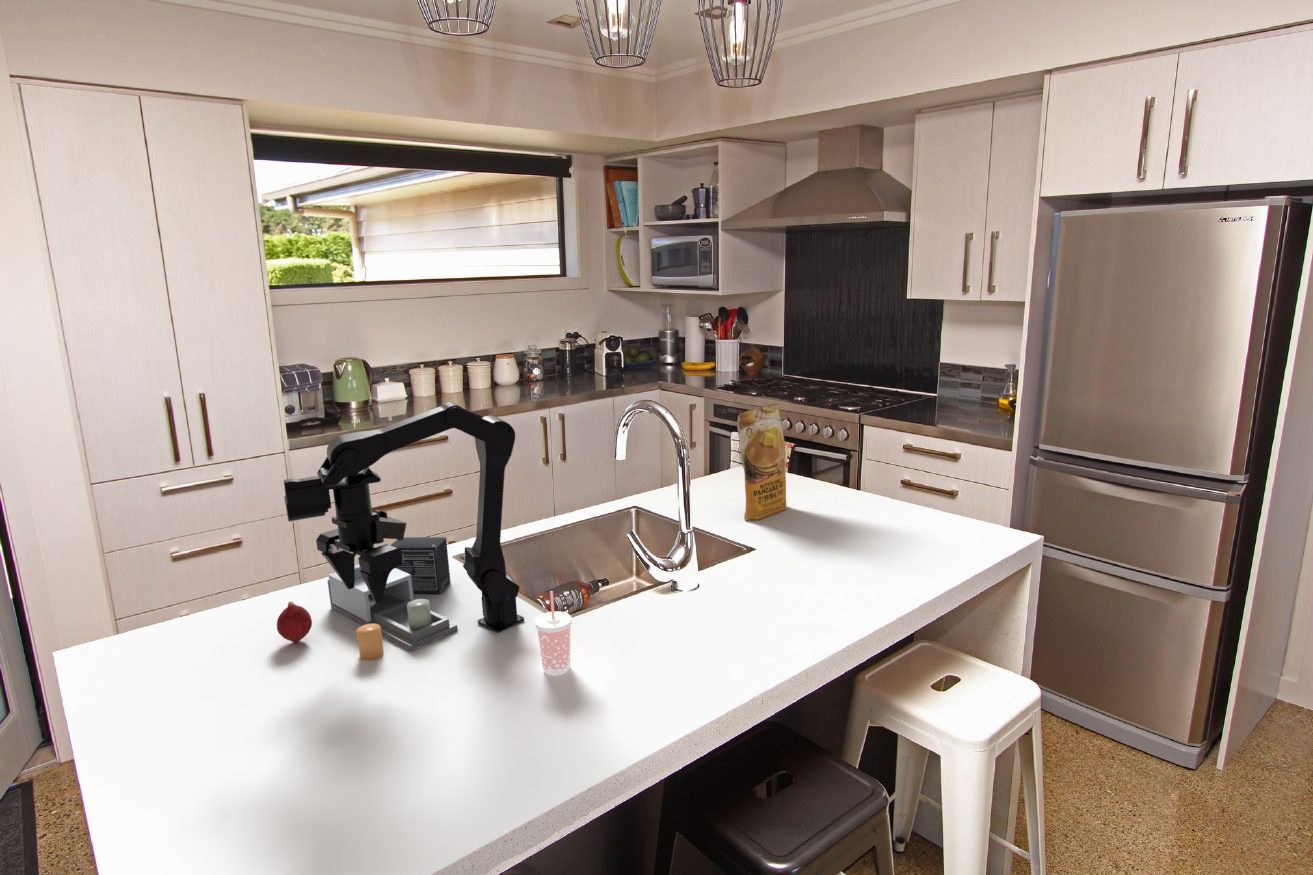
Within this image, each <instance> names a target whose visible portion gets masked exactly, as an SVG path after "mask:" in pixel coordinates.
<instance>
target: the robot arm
mask: <svg viewBox="0 0 1313 875" xmlns="http://www.w3.org/2000/svg"><path fill="white" fill-rule="evenodd" d="M451 429H455V430H458V431H460V432H462V433H464V434H467V435H469V436H471V437H473V438H474V443H475V449H476V453H477V457H478V462H479V479H478V480H479V485H478V498H477V499H478V500H477V517H476V518H477V520H476V536H475V540H474V542H473V544H472V547H468V546H465V547H464V555H465V556H464V562H463V565H462V567H463V569H464V570H465V571H466V573H467V576H468V577H469V579H470V580H471V581H472V582H473V584H474V585H475V587H477V589H478V590H480V592H481V607H482V615H483V617H481V618H479V619H477V624H479V625H481V626H483V627H485V628H487V629H489V630H492V631H494V632H498V633H499V632H502V631H504V630H506V629H509V628H510V627H513V626H514V625H517V624H519V623H521V622H523V621H524V620H525V617H524V616H522V615H520V614H518V611H517V610H518V608H517V597H518V595H519V591H520V585H519V584H518V583H517V582H516V581H515V580H514V579H513V577H512V576H510V574H508V572H507V568H506V561H505V557H504V553H503V549H502V546H501V544H502V543H501V535H502V534H501V533H502V520H503V519H502V518H503V506H504V505H503V504H504V503H503V502H504V487H505V486H504V484H505V472H506V471H505V470H506V468H507V465H508V463H509V461H510V459H511V456H512V453H513V450H514V445H515V441H516V432H515V429H514V428H513V426H512V425H511V424H510V423H508V422H507V421H505V420H503V419H502V418H500V417H498V416H496V415H485V416H482V415H480V414H477V413H475V412H473V411H470V410H469V409H466V408H463V407H462V406H460V405H458V403H455V402H452V401H450V402H445V403H443V404H441V405H440V406H438V407H436V408H433V409H430V410H428V411H424V412H421V413H418V414H416V415H414V416H411V417H408V418H405V419H403V420H400V421H396V422H395V423H392V424H389V425H386V426H384V427H381V428H377V429H373V430H363V431H362V430H361V431H355V432H351V433H350V432H349V433H346V434H345V433H344V434H341V435H337V436H335V437H333V438H332V439H331V440H330V442H329V443H328V445H327V447H326V458H325V459H324V461H323V462H322V464H321V466H320V467H319V469H318V471H316V472H317V473H316V474H317V475H316V476H315V475H314V476H309V477H303V478H287V479H284V480H283V486H284V496H283V499H284V505H285V512H286V515H287V521H288V522H289V523H291V522H294V521H300V520H307V519H312V518H318V517H322V516H323V517H324V516H326V513H328V512H329V510H330V509H331V508H332V502H331V501H332V500H331V495H330V490H332V494H333V501H334V509H335V516H332V517H331V522H332V524H334V525H337V528H334V529H332V530H329V531H325V532H322V533H320V534H319V535H318V537H317V538H316V540H315V541H316V549H317V550H318V551H320V552H321V555H322V556H323V557H324V558H325V560H326V561H327V562H328V564H329V565H330V566H331V568H332V569H333V570H334V573H335V572H336V573H337V574H338V576H339V577H340V579H341V580H342V581H343V583H344V584H345V586H346V587H347V589H352V588H354V585H355V557H356V555H358V556H359V557H358V564H359V565H360V567H361V569H362V570H360V573H361V575H362V577H363V579H364V581H365V583H366V585H367V587H368V589H369V591H370V593H371V595H372V597H373V599H374V601H375V603H379V602H382V600H383V596H384V592H385V587H386V583H387V579H388V576H389V574H390V572H391V571H392V570H393V569H394V568H397V567H398V566H399V565H401V564H403V563H404V557H403V551H401V550H399V549H398V548H396V547H393V546H391V544H388V543H385V544H383V543H384V542H385V539H387V540H391V539H392V540H403V539H404V537H405V532H406V528H407V524H408V523H407V522H406V521H403V520H401V519H397V518H393V517H388V513H387V511H384V510H379V509H374V510H373V508H372V506H373V505H372V500H371V492H370V491H371V490H370V484H375V483H380V482H381V480H382V479H381V477H380V476H379V474H378V473H377V472H374V470H372V469H371V468H370V467H371V466H373V465H374V464H376V463H377V462H378V461H380V460H381V459H382V458H383V457H384V456H386V455H388V454H390V453H391V452H394V451H396V450H399V449H402V448H404V447H407V446H410V445H411V444H415V443H418V442H420V441H422V440H425V439H428V438H430V437H432V436H436V435H438V434H440V433H444V432H445V431H449V430H451ZM380 544H382V545H380ZM375 545H379V546H376V547H375Z"/></svg>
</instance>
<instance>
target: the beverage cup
mask: <svg viewBox="0 0 1313 875" xmlns="http://www.w3.org/2000/svg"><path fill="white" fill-rule="evenodd" d="M549 595H550V609H551V611H547V612H545V613H541V614H540V615H538V616H537V617H536V618H535V619H534V624H535V629H537V636H538V643H539V650H540V657H541V666H542V671H543V673H544V674H545V675H547V676H561V675H564V674H566V673H567V672H569V671H570V669H571V625H572V624H573V622H572V620H573V618H572V615H570V614H569V613H568V612H564V611H555V604H554V603H555V602H554V601H555V600H554V591H553V590H550V591H549Z"/></svg>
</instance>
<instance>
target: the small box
mask: <svg viewBox="0 0 1313 875" xmlns="http://www.w3.org/2000/svg"><path fill="white" fill-rule="evenodd" d="M390 545H391V546H393V547H396V548H398V549H399V550H401V551H403V557H404V563H403V564H401V565H399V566H398V567H397V568H396V569H399V570H401V571H403V572H406V573H408V574H410V575H411V580H412V589H413V595H415V594H417V595H420V594H423V595H426V594H427V595H429V594H430V595H440V594H442V593H443V592H444V591H445V589H446V588H447V587H448V586H449V585H450V584H451V583H452V582H451V573H450V565H449V562H450V561H449V554H448V553H449V552H448V544H447V537H444V536H443V537H441V536H438V537H437V536H435V537H434V536H433V537H428V536H427V537H425V536H424V537H423V536H422V537H421V536H416V537H414V536H412V537H411V536H409V537H407V536H404V539H403V540H397V539H395V540H394V542H392V543H391V544H390Z"/></svg>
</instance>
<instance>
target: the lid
mask: <svg viewBox="0 0 1313 875" xmlns="http://www.w3.org/2000/svg"><path fill="white" fill-rule="evenodd" d="M354 565H355V564H354ZM360 570H362V569H361V567H360V565H359V563H358V564H356V565H355V585H354V588H352V589H347V587H346V586H345V584H344V583H343V581H342V580H341V579H340V577H339V576H338V574H337V573H336V572H335V571H334V572H331V573H330V574H327V575H328V576H327V577H328V580H329V583H330V591H331V598H332V603H333V604H335V605H337V606H339V607H341V608H342V609H344V610H346V611H348V612H350V613H352V614H354V615H356V616H358V617H359V618H361V619H363V620H365V621H367V622H369V621H371V614H370V606H369V598H368V595H369V594H371V593H370V591H369V589H368V587H367V585H366V583H365V581H364V579H363V577H362V575H361V573H360ZM385 593H388V594H390V595H392V596H394V597H396V598H398V599H400V600H402V601H404V602H407V601H409V600H410V601H413V600H415V599H414V594H413V589H412V580H411V575H410V574H408V573H406V572H403V571H401V570H399V569H396V568H394V569H393V570H392V571H391V572H390V574H389V576H388V579H387V583H386V587H385Z"/></svg>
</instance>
